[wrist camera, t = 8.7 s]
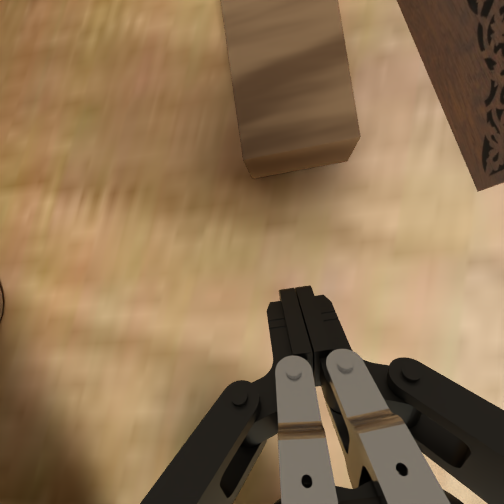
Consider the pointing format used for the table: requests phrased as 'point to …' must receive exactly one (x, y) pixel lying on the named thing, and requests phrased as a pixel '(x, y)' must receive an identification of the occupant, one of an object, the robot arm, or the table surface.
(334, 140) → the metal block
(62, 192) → the table surface
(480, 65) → the tissue box cover
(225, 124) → the table surface
